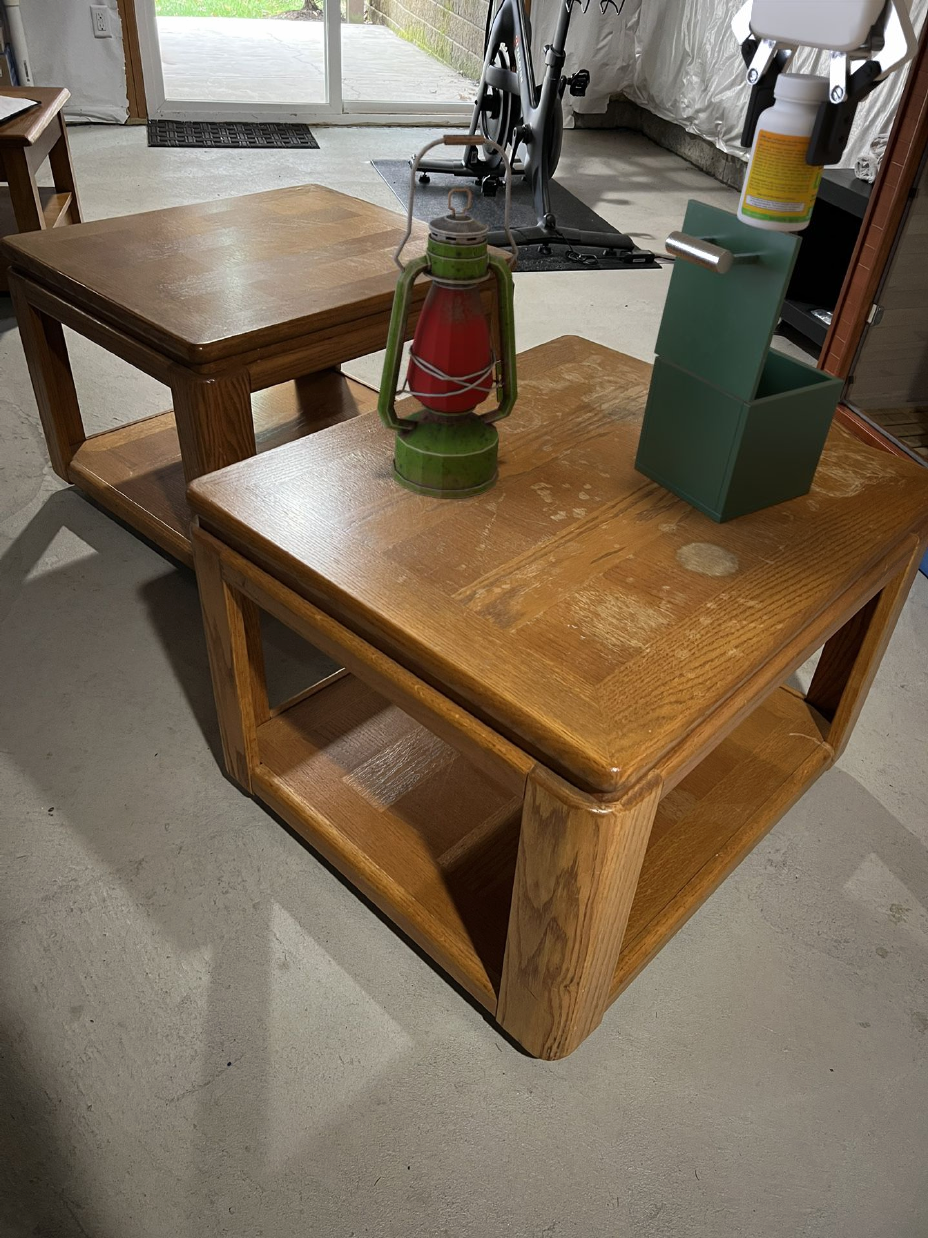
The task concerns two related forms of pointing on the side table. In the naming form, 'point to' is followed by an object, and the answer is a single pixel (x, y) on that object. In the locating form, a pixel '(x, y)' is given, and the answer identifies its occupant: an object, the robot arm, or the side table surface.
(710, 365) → the bin lid
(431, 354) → the lantern
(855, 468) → the side table surface
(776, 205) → the supplement bottle
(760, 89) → the robot arm
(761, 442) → the bin
